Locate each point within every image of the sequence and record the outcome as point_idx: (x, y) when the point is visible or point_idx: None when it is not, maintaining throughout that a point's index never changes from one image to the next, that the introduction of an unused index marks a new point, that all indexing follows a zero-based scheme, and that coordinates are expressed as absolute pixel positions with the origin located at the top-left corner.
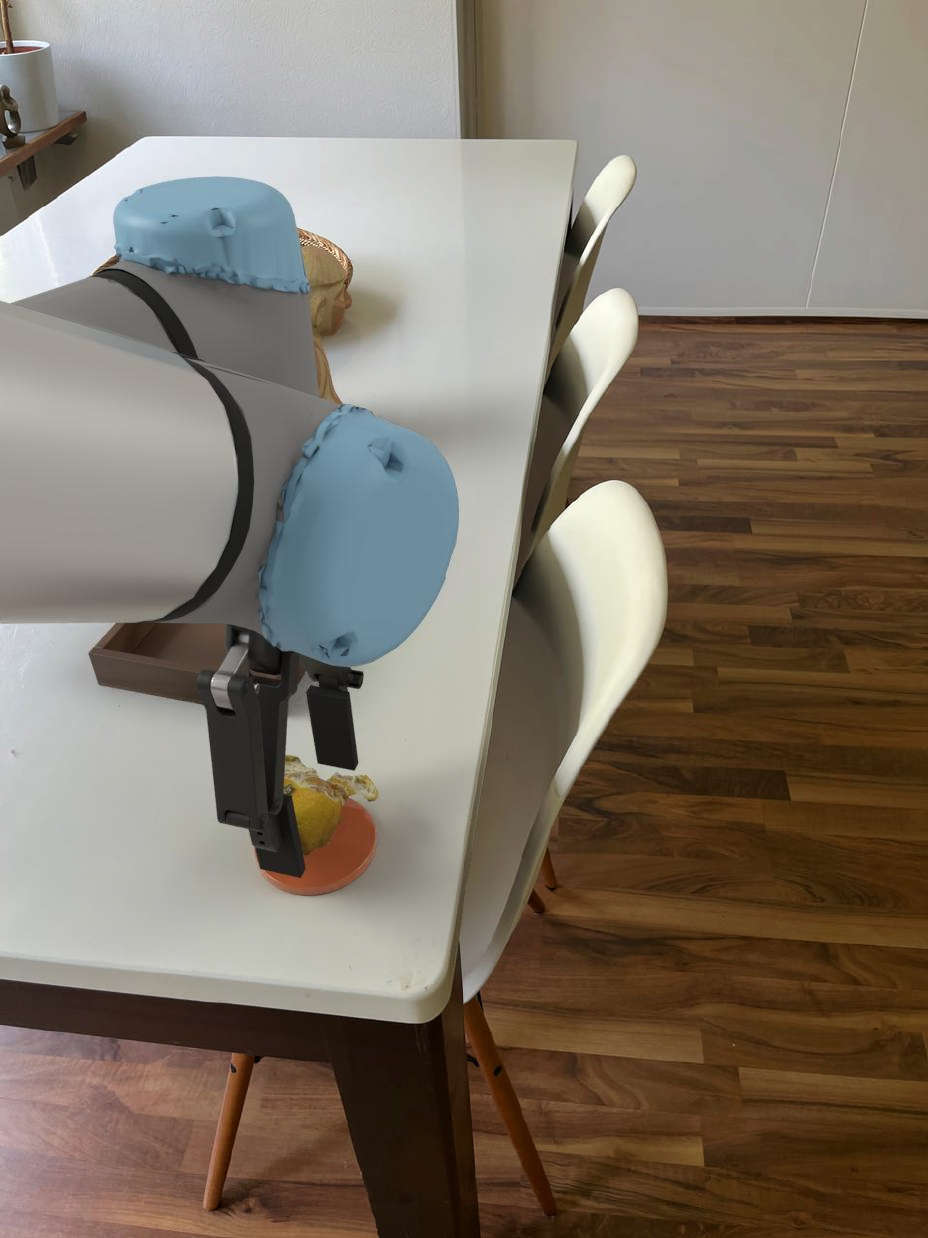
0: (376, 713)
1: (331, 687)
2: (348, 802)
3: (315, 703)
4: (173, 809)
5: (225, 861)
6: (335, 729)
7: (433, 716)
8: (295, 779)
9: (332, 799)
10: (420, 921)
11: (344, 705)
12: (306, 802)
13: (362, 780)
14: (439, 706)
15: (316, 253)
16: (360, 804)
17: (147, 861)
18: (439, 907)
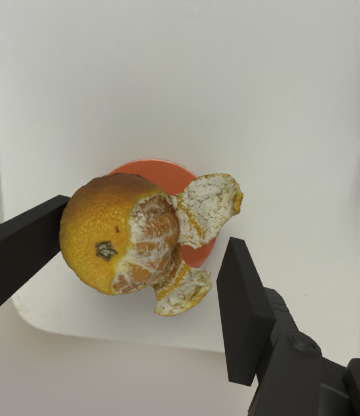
0: (355, 262)
1: (261, 361)
2: (203, 253)
3: (244, 312)
4: (204, 35)
5: (127, 126)
6: (228, 305)
7: (341, 321)
8: (132, 255)
9: (119, 293)
10: (77, 317)
11: (227, 366)
12: (88, 276)
13: (198, 292)
14: (357, 326)
15: None
16: (199, 265)
17: (120, 26)
18: (93, 330)
